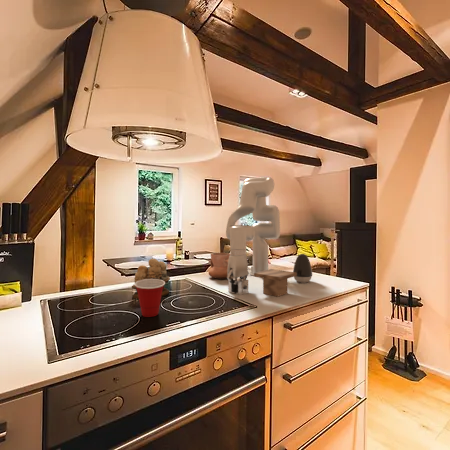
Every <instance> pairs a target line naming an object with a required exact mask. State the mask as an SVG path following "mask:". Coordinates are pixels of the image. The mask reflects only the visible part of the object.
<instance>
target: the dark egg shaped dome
mask: <svg viewBox="0 0 450 450" xmlns="http://www.w3.org/2000/svg"><path fill="white" fill-rule="evenodd" d="M292 272H296V273H297V276H294V277H293V279H294V280H295V281H296V282H297V283H300V284H301V283H303V284H306V283H308V282H310V281H311V279H312V277H313V270H312V264H311V262H310V259H309V257H308V256H307V254H305V253H300V254H299V255H297V257H296V259H295V262H294V265H293V269H292Z"/></svg>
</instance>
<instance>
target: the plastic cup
mask: <svg viewBox="0 0 450 450" xmlns="http://www.w3.org/2000/svg"><path fill="white" fill-rule="evenodd" d="M134 284H135V286H136V289H137V290H136V289H135V290H136V292H137V293H138V297H139V300H138V302H139V307H140V312H141V315H142V317H144V318H152V317H156V316H158V315H159V312H160V306H161V300H162V297H161V295H162V291H163V286H164V287H165V285H166V284H165V281H163V280H159V279H144V280H140V281H137V282H136V283H135V282H134Z"/></svg>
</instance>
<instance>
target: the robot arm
mask: <svg viewBox="0 0 450 450" xmlns="http://www.w3.org/2000/svg"><path fill="white" fill-rule="evenodd" d="M274 189H275V181H274V178H273V177H271V176H266V177H265V176H264V177H248V178H246V179H245V180H244V181H243V185H242V187H241V193H240V200H239V206H238V207H237V208H236V209H235V210H233V212H231V214H230V215H229V217H228V219H227V223H226V227H225V228H226V229H225V236H226V238H227V239H228V240H229V242H230V244H229V247H230V249H229V253H230V256H229V260H228V272H227V274H228V276H227V278H226V279H227V280H229V281H230V283H231V291H232V292H234V293H233V294H236V293H237V284H236V283H237V278H240V279H246V280H247V279H248V276H249V274H250V276H253V277H255V276H254V273H257V272H261V271H265V270H269V244H268V243H267V241H266V240H269V239H270V240H277V239H279V238H280V236H281V222H280V221H281V220H280V217H281V216H280V210H279V207H278V206H276V205H274V204H273V205H272V204H271V205H270V204H269V205H268V204H267V199H266V198H267V197H269V196H270V195H271V194H272V193H273V191H274ZM250 214H251V215H252V219H253V220H254V221H256V222H257V223H254V224H252V225H244V224H243V225H242V224H240V225H239V224H238V225H236V223H237V222H238V220H241V218H243V217H246V216H247V215H248V216H249V215H250ZM250 241H252V266H249V264H248V257H247V242H250ZM249 271H250V272H249ZM234 278H235V280H233V279H234Z"/></svg>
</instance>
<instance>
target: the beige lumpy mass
mask: <svg viewBox="0 0 450 450" xmlns="http://www.w3.org/2000/svg"><path fill="white" fill-rule="evenodd" d="M148 266H149V267H147V266H146V265H143V264H142V265H139V266H138V268H137V271H136V272H135V273H134V279H133V282H134V284H132V285H131V289H133V290H136V291H135V292H134V293H133V294H132V299H134V300H136V301H139V297H138V293H137V289H136V286H135V283H136V282H137V281H140V280H144V279H159V280H163V281H165V285H166V284H168V283H169V282H170V280H171V277H170V276H168V275H167V270H166V269H167V265H166V263H165V262H164V261H162V260H161V261H159V260H158V259H156V258H150V259H149V260H148ZM165 285H164V286H163V291H162V295H161V298H164V297H167V296H168V295H170V290H169V289H168V288H166V287H165Z"/></svg>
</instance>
